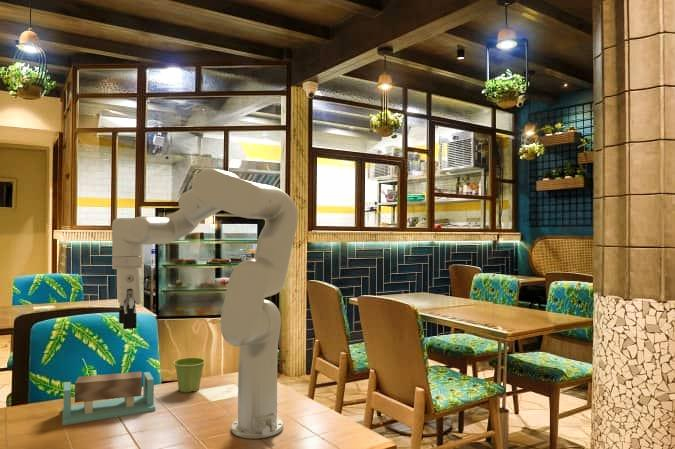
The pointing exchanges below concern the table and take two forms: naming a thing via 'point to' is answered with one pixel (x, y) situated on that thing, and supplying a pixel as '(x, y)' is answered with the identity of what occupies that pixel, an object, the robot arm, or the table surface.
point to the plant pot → (189, 373)
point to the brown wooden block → (108, 386)
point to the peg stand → (108, 405)
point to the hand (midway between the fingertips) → (127, 325)
